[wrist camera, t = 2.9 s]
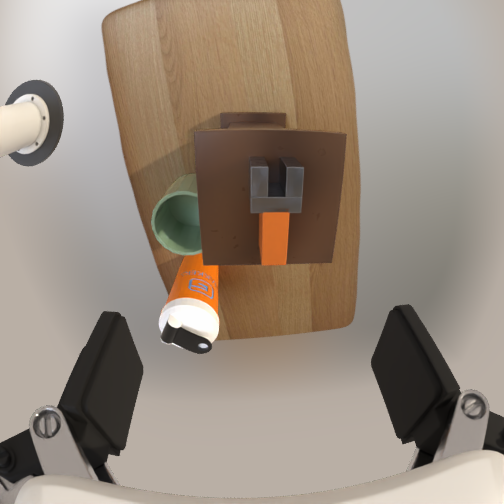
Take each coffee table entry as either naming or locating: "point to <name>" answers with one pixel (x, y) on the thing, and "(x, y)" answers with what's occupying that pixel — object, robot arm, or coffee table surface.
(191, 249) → the green cup
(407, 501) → the robot arm
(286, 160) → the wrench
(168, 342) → the shaker bottle
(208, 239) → the stand
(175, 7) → the coffee table surface
